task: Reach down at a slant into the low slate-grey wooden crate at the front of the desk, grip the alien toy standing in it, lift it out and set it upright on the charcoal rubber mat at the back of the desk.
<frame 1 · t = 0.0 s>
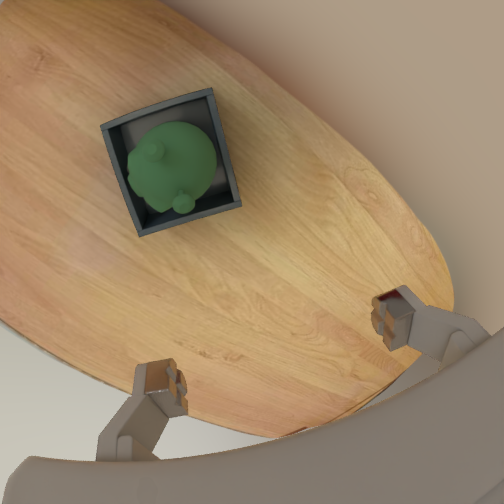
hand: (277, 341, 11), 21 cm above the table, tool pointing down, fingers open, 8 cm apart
alien toy: (174, 157, 27), resting on crate
crate: (174, 156, 27), on the table
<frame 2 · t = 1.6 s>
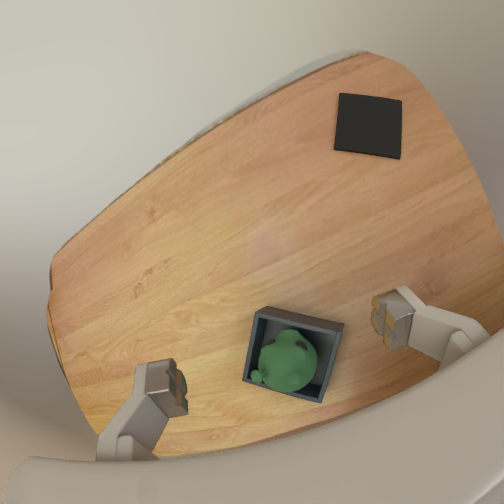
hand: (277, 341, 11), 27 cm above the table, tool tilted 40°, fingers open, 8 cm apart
mat: (369, 124, 35), on the table
alien toy: (296, 349, 38), resting on crate
crate: (297, 348, 38), on the table
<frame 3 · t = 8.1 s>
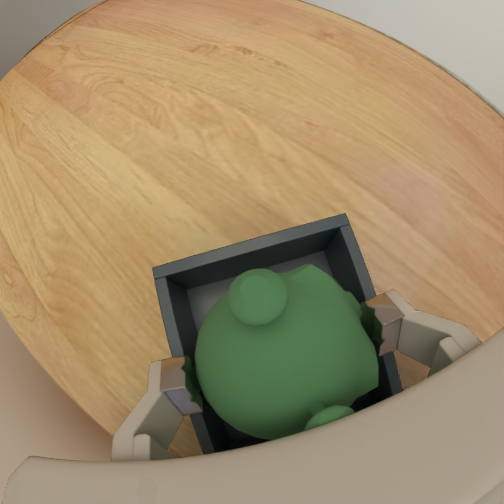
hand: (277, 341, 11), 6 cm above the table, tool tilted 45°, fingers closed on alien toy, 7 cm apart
alien toy: (279, 348, 16), resting on crate, touching gripper
crate: (278, 348, 16), on the table
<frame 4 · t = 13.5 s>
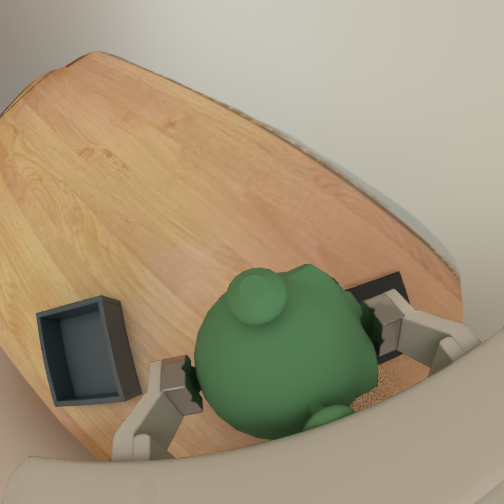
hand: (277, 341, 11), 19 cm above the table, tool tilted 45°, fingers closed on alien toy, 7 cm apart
mat: (377, 322, 29), on the table
alien toy: (278, 348, 16), point 14 cm above the table, touching gripper
crate: (95, 354, 29), on the table
when the fingers open (6 cm above the table, at t = 19.2 s): alien toy stays where it is, resting on mat.
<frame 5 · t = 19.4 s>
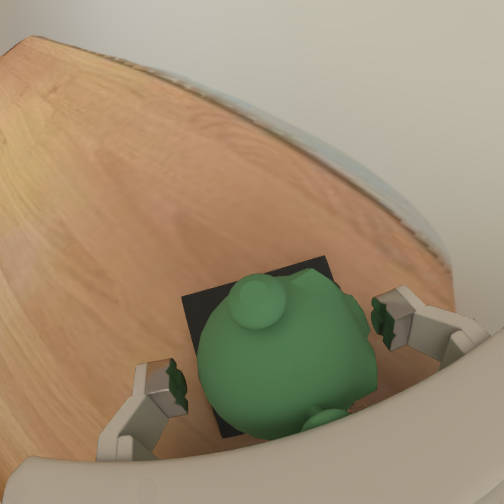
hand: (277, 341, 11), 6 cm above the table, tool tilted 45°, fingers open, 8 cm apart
mat: (275, 349, 17), on the table
alien toy: (281, 350, 16), resting on mat
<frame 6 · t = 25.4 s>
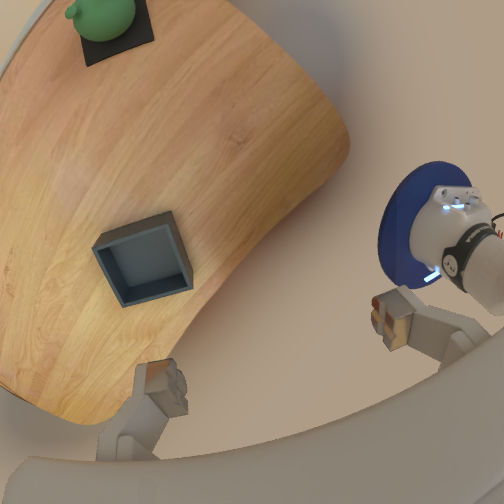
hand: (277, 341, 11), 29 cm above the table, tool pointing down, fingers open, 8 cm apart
mat: (113, 24, 24), on the table
alien toy: (113, 21, 24), resting on mat
crate: (147, 253, 39), on the table
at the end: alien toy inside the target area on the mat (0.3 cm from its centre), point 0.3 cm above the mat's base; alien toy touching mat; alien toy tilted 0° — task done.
